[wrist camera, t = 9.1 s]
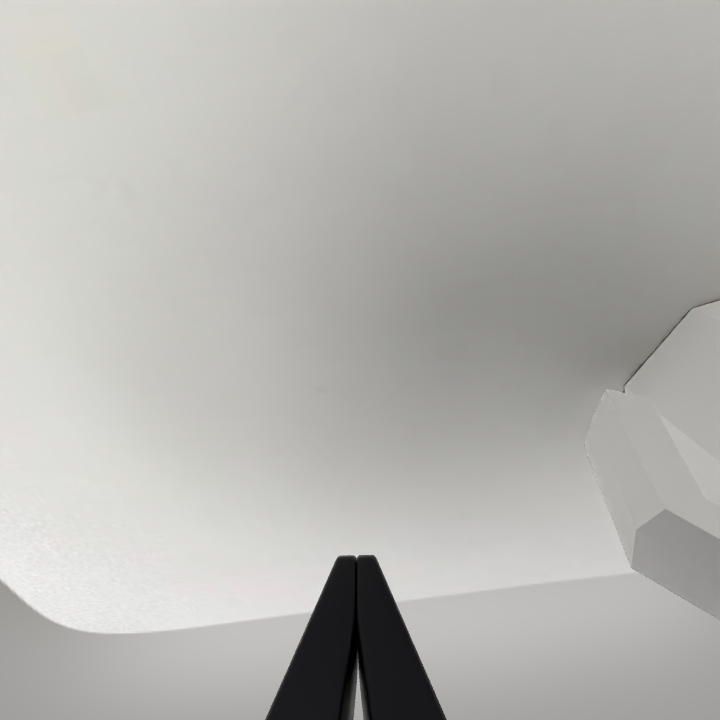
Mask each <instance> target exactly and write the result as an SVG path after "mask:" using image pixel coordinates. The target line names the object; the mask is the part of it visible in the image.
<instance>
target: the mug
mask: <svg viewBox="0 0 720 720" xmlns="http://www.w3.org/2000/svg"><path fill="white" fill-rule="evenodd" d="M584 447H585V450H586V452H587V455H588V458H589V460H590V463H591V465H592V468H593V471H594V473H595V476H596V478H597V481H598V483H599V486H600V489H601V491H602V494H603V496H604V499H605V502H606V504H607V507H608V509H609V512H610V514H611V517H612V520H613V522H614V525H615V527H616V530H617V533H618V535H619V538H620V540H621V543H622V545H623V548H624V551H625V553H626V556H627V558H628V561H629V563H630V566H631V568H632V569H634V570H636V571H637V572H639V573H641V574H643V575H644V576H646V577H648V578H650V579H651V580H653V581H654V582H656V583H658V584H660V585H661V586H663V587H665V588H666V589H668V590H670V591H671V592H673V593H675V594H677V595H678V596H680V597H682V598H683V599H685V600H687V601H689V602H691V603H692V604H694V605H695V606H697V607H699V608H701V609H702V610H704V611H706V612H707V613H709V614H711V615H712V616H714V617H716V618H717V619H719V620H720V300H719V301H716V302H713V303H709V304H706V305H702V306H699V307H696V308H692V309H691V310H690V312H689V313H688V314H687V315H686V316H685V317H684V318H683V320H682V321H681V322H680V323H679V324H678V325H677V327H676V328H675V329H674V330H673V331H672V332H671V333H670V335H669V336H668V337H667V338H666V339H665V340H664V341H663V343H662V344H661V345H660V346H659V347H658V348H657V349H656V351H655V352H654V353H653V354H652V355H651V356H650V357H649V359H648V360H647V361H646V362H645V363H644V364H643V366H642V367H641V368H640V369H639V370H638V371H637V372H636V374H635V375H634V376H633V377H632V378H631V379H630V380H629V382H628V383H627V384H626V385H625V393H623V392H618V391H614V390H609V389H606V391H605V393H604V395H603V397H602V399H601V401H600V403H599V404H598V406H597V408H596V410H595V412H594V414H593V418H592V421H591V424H590V427H589V431H588V434H587V437H586V440H585V444H584Z"/></svg>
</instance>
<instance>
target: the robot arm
mask: <svg viewBox="0 0 720 720" xmlns="http://www.w3.org/2000/svg"><path fill="white" fill-rule="evenodd" d="M358 664H359V679H360V690H361V699H362V708H363V717H364V720H446V717H445V715H444V713H443V710H442V708H441V706H440V704H439V701H438V699H437V697H436V694H435V692H434V690H433V687H432V685H431V683H430V680H429V678H428V676H427V674H426V671H425V669H424V667H423V664H422V662H421V660H420V657H419V655H418V653H417V651H416V648H415V646H414V644H413V641H412V639H411V637H410V634H409V632H408V630H407V628H406V625H405V623H404V621H403V619H402V616H401V614H400V611H399V609H398V607H397V605H396V602H395V600H394V598H393V595H392V593H391V591H390V588H389V586H388V584H387V582H386V579H385V577H384V575H383V572H382V570H381V568H380V565H379V563H378V561H377V559H376V557H375V556H374V555H359V556H358V557H357V560H356V557H355V556H353V555H346V556H339V557H338V558H337V559H336V561H335V563H334V566H333V568H332V570H331V572H330V575H329V577H328V579H327V581H326V584H325V586H324V588H323V591H322V593H321V595H320V597H319V600H318V602H317V604H316V606H315V609H314V611H313V613H312V615H311V618H310V620H309V622H308V624H307V627H306V629H305V632H304V634H303V636H302V638H301V640H300V642H299V645H298V647H297V649H296V652H295V654H294V656H293V658H292V661H291V663H290V665H289V667H288V670H287V672H286V674H285V676H284V679H283V681H282V683H281V685H280V688H279V690H278V692H277V695H276V697H275V699H274V701H273V703H272V706H271V708H270V710H269V713H268V715H267V717H266V719H265V720H353V718H354V706H355V695H356V684H357V669H358Z"/></svg>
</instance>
